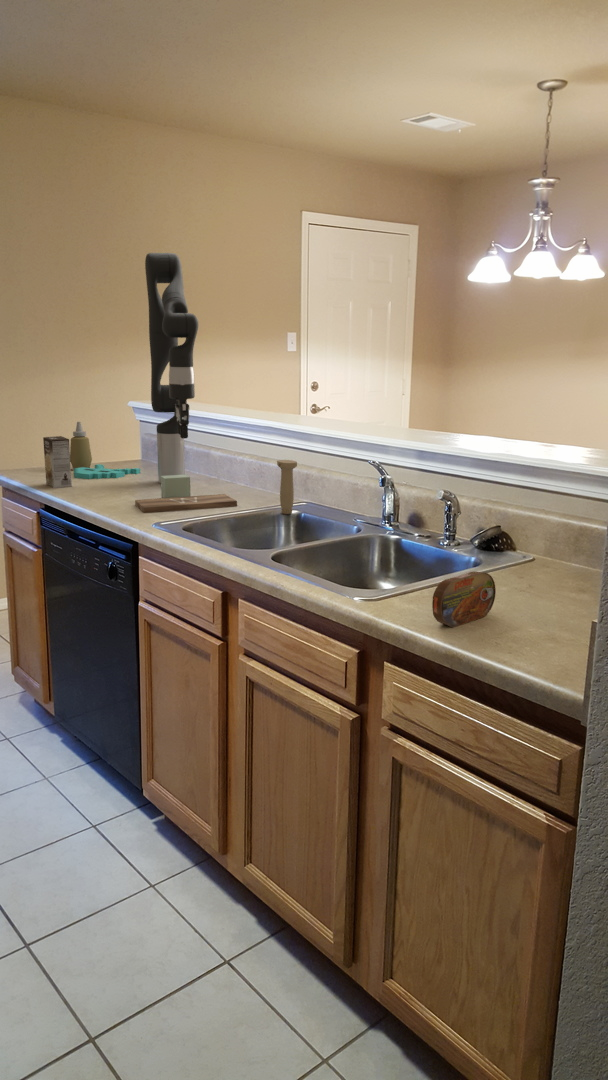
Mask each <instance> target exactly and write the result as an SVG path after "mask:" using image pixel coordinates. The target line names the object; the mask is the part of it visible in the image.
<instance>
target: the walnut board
mask: <svg viewBox="0 0 608 1080" xmlns="http://www.w3.org/2000/svg"><path fill="white" fill-rule="evenodd" d="M134 504H135V505H134V506H136V507H137V508H139V510H140V511H142V512H143V513H156V512H157V513H158V512H159V513H160V512H169V511H171V512H172V511H173V512H174V511H184V510H186V511H187V510H198V509H199V510H201V509H213V508H224V507H226V508H228V507H238V501H237V500H236V499H234V498H232V497H231V496H229V495H227V494H225V493H221V494H205V495H203V494H202V495H191V496H188V497H172V498H161V497H160V498H159V497H158V498H146V499H135V500H134ZM200 508H201V509H200Z"/></svg>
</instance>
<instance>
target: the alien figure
mask: <svg viewBox="0 0 608 1080" xmlns="http://www.w3.org/2000/svg"><path fill="white" fill-rule="evenodd" d="M132 474H133V475H138V474H141V468H138V467H135V468H134V467H133V468H129V467H126V468H115V469H113V468H105V465H104V464H101V463H97V464H94V468H92V467H90V468H85V467H81V468H75V469H73V475H74V478H76V479H83V480H92V479H93V480H95V479H96V480H99V479H106V478H108V479H119V477H120V478H124V476H125V475H132ZM111 477H112V478H111Z"/></svg>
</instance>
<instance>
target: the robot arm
mask: <svg viewBox="0 0 608 1080" xmlns="http://www.w3.org/2000/svg"><path fill="white" fill-rule="evenodd" d="M144 264H145V265H144V266H145V267H144V269H145V280H146V290H147V300H148V301H147V302H148V337H149V340H148V341H149V351H150V361H151V362H150V364H151V366H150V368H151V370H150V371H151V372H150V373H151V375H150V377H151V378H150V379H151V380H150V381H151V382H150V383H151V384H150V389H151V390H150V398H151V399H150V403H151V409H152V410H153V412H155V413H173V416H171V417H170V418H169V419H167V420H164V421H162V422H160V423H158V424H157V425H156V448H157V453H156V454H157V479H158V483H159V484H161V476H169V475H186V463H185V461H186V459H185V456H186V455H185V454H186V453H185V439H188V437H189V429H188V426H189V425H190V421H189V419H190V404H189V403H188V402H187V401H188V400H192V399H194V398H195V397H196V396H195V393H196V392H195V372H194V347H195V342H196V338H197V334H198V330H199V320H198V319H199V318H198V317H196V315H195V314H194V313H190V312H189V309H188V304H187V301H186V297H185V291H184V280H183V270H182V262H181V260H180V257H179V256H178V254H176V253H173V252H148V253H146V256H145V261H144ZM158 284H168V285H167V286H166V287H165V289H164V291H163V292H162V295H160V292H159V289H158ZM179 338H180V339H184V338H185V340H184V342H183V343H182V344H179ZM168 364H169V365H168ZM167 366H169V367H168V368H169V370H168V384H161V380H162V377H163V374H164V372H165V370H166V368H167Z"/></svg>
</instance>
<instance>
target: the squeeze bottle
mask: <svg viewBox="0 0 608 1080" xmlns="http://www.w3.org/2000/svg"><path fill="white" fill-rule="evenodd" d="M69 445H70V464H71V467H72V469H73V470H74V469H75V468H81V467H85V468H91V464H92V461H93V457H92V452H91V445H90V439H89V437H87V432H86V431H84V430H83V425H82V423H81V421H77V422H76V428H75V430H74V431H73V432H72V437H71V438H70V444H69Z"/></svg>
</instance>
